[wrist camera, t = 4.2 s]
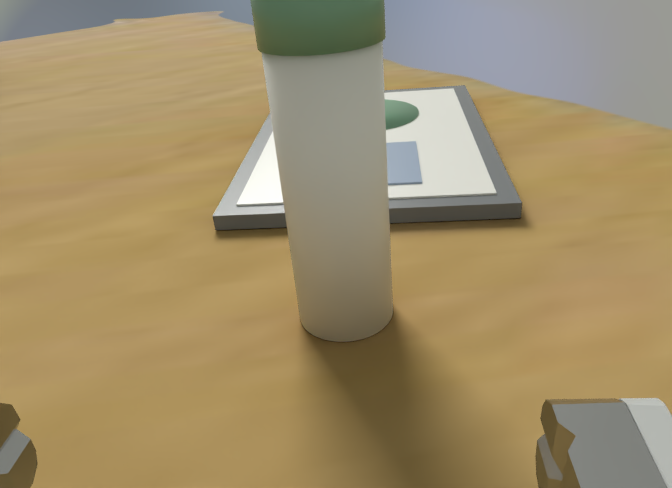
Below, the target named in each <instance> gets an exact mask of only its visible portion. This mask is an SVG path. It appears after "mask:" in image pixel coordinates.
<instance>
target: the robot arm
mask: <svg viewBox="0 0 672 488" xmlns="http://www.w3.org/2000/svg"><path fill="white" fill-rule="evenodd" d="M540 419H541V422H542V426H543V429H544V432H545V434H544V435H543V436H542V437H540V438H539V439H538V440H537V447H536V476H537V482H538V487H539V488H672V415H671V413H670V412H669V410H668V408H667V406H666V405H665V403H663V402H662V401H661V400H659V399H658V398H625V399H551V400H545V402H544V404H543V406H542V412H541V418H540ZM20 420H21V419H20V418H19V416H18V414H17V413H16V411H15V409H14V408H13V406H12V405H11V404H4V403H0V488H30V487H31V486H32V484H33V481H34V477H35V472H36V468H37V455H36V449H35V447H34V445H33V443H32V441H31V439H30V438H28V437H27V436H25V435H24V434H23V433H21V432H20V431H18V430H17V427H18V424H19V422H20Z"/></svg>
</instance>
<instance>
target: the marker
mask: <svg viewBox="0 0 672 488" xmlns="http://www.w3.org/2000/svg"><path fill="white" fill-rule="evenodd" d="M251 7H252V14H253V21H254V27H255V34H256V41H257V48H258V50H259V51H260V52H262V58H263V65H264V72H265V79H266V86H267V93H268V100H269V107H270V114H271V121H272V128H273V135H274V142H275V148H276V155H277V162H278V169H279V176H280V183H281V190H282V197H283V204H284V211H285V218H286V225H287V232H288V239H289V246H290V252H291V259H292V266H293V273H294V280H295V287H296V294H297V301H298V308H299V315H300V321H301V324H302V325H303V327H304V328H305V329H306V330H307V331H308V332H309V333H311V334H312V335H314V336H316V337H318V338H321V339H324V340H328V341H335V342H349V341H357V340H361V339H364V338H367V337H370V336H372V335H374V334H376V333H378V332H379V331H381V330H382V329H383V328H384V327H385V326H387V324H388V323H389V322H390V320H391V318H392V315H393V296H392V272H391V247H390V222H389V197H388V172H387V147H386V122H385V97H384V72H383V47H382V41H383V40H384V39H385V9H384V0H251Z"/></svg>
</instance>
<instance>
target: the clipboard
mask: <svg viewBox="0 0 672 488" xmlns="http://www.w3.org/2000/svg"><path fill="white" fill-rule="evenodd" d="M384 97H385V122H386V147H387V172H388V197H389V222H390V223H405V222H430V221H455V220H480V219H505V218H521V208H522V202H521V200H520V198H519V196H518V194H517V192H516V190H515V188H514V185H513V183H512V181H511V179H510V177H509V175H508V173H507V171H506V169H505V167H504V165H503V163H502V161H501V159H500V157H499V155H498V152H497V150H496V148H495V146H494V144H493V142H492V140H491V138H490V136H489V134H488V132H487V130H486V128H485V126H484V124H483V122H482V120H481V117H480V115H479V113H478V111H477V109H476V107H475V105H474V103H473V101H472V99H471V97H470V95H469V93H468V91H467V89H466V87H465V85H463V86H447V87H432V88H416V89H400V90H385V91H384ZM213 220H214V225H215V230H230V229H255V228H280V227H287V225H286V218H285V211H284V204H283V197H282V190H281V183H280V176H279V169H278V162H277V155H276V148H275V142H274V135H273V128H272V121H271V114H269V115H268V117H267V119H266V121H265V123H264V124H263V126H262V128H261V130H260V132H259V133H258V135H257V137H256V139H255V141H254V142H253V144H252V146H251V148H250V150H249V151H248V153H247V155H246V157H245V159H244V160H243V162H242V164H241V166H240V168H239V169H238V171H237V173H236V175H235V177H234V178H233V180H232V182H231V184H230V186H229V187H228V189H227V191H226V193H225V195H224V196H223V198H222V200H221V202H220V204H219V205H218V207H217V209H216V211H215V213H214V214H213Z"/></svg>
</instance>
